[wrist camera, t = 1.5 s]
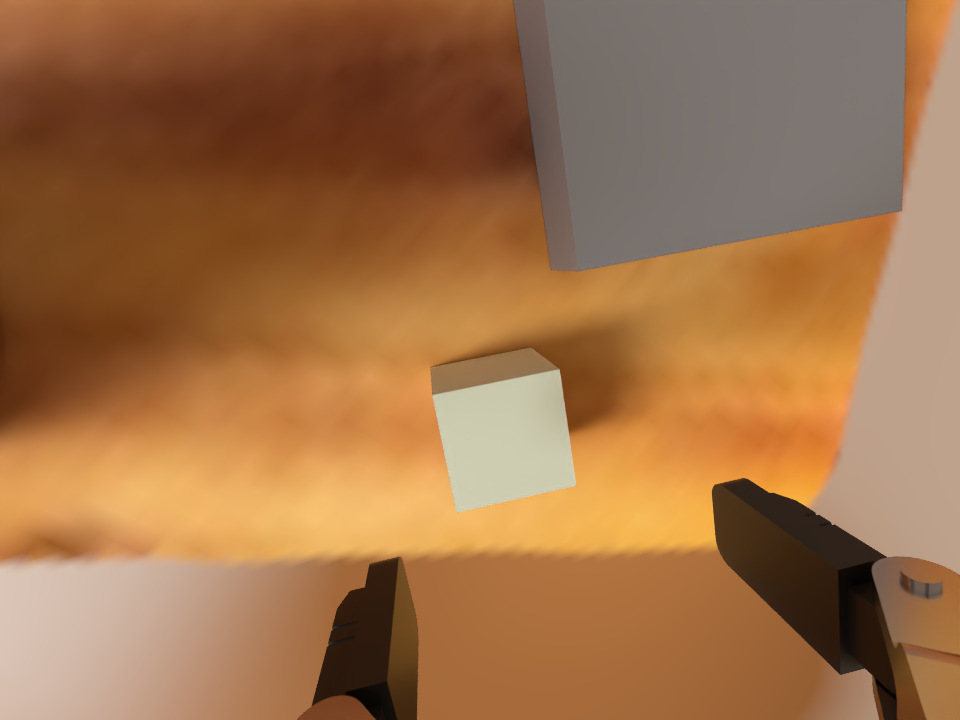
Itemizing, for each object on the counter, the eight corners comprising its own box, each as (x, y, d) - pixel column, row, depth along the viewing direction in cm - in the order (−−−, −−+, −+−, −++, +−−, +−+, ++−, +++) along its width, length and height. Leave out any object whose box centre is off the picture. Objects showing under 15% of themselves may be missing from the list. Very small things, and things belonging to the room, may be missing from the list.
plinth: (502, -73, 19) (523, -159, 15) (817, -112, 20) (911, -201, 16) (550, 270, 22) (578, 271, 18) (821, 219, 23) (902, 210, 19)
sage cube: (430, 366, 23) (432, 395, 18) (530, 346, 23) (559, 369, 18) (449, 461, 24) (456, 512, 19) (545, 440, 24) (576, 485, 19)
